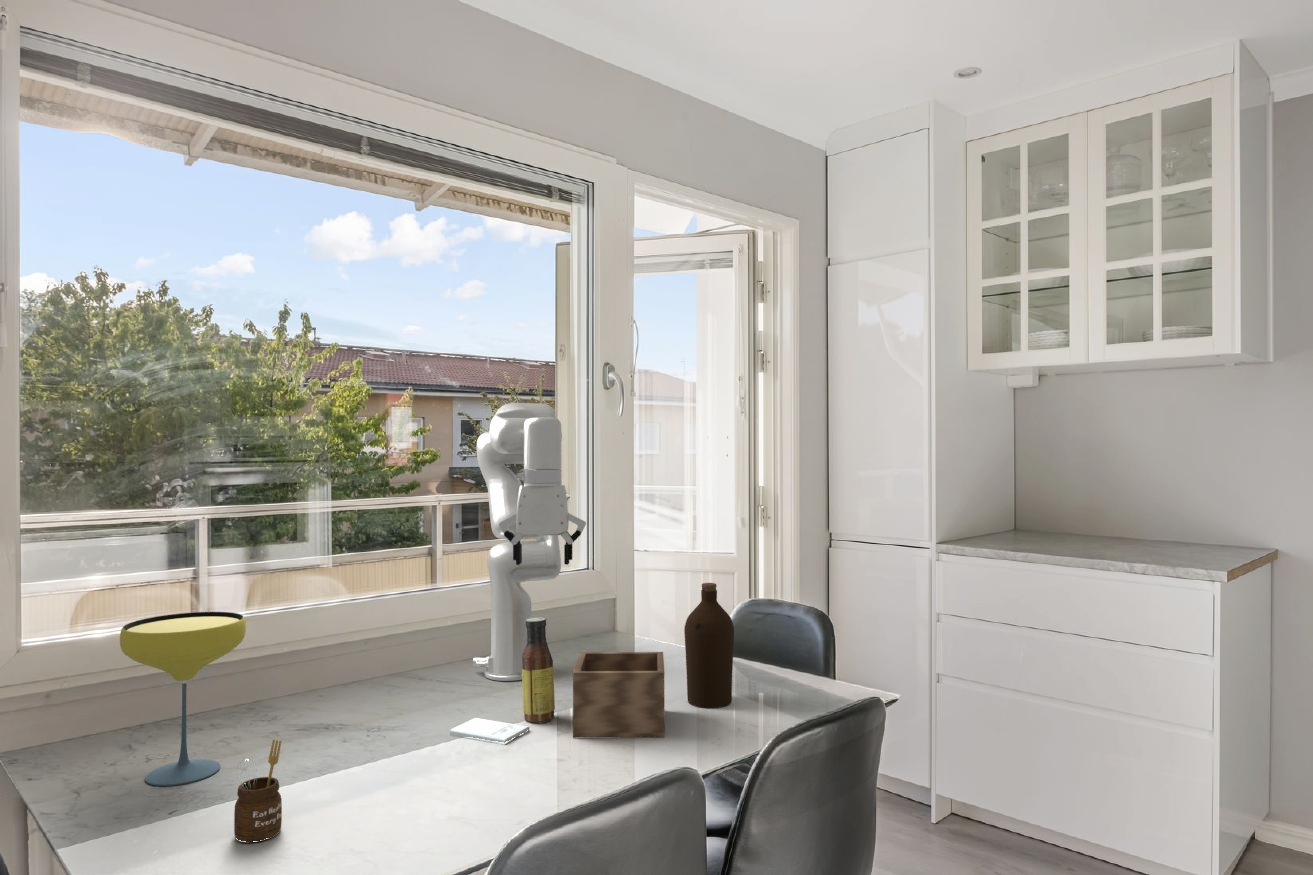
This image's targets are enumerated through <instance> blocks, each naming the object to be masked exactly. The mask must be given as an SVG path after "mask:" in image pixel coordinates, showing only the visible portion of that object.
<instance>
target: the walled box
mask: <svg viewBox="0 0 1313 875" xmlns="http://www.w3.org/2000/svg"><path fill="white" fill-rule="evenodd" d="M572 697H573V698H572V737H620V738H619V739H621V738H625V739H627V738H630V739H634V738H645V739H646V738H648V739H649V738H665V730H666V729H665V723H666V722H665V712H666V711H665V660H664V651H586V652H585V651H583V652H582V651H581V652H579V656H578V658H577V661H576V664H575V667H574V670H573V673H572Z"/></svg>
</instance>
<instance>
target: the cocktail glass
mask: <svg viewBox="0 0 1313 875" xmlns="http://www.w3.org/2000/svg"><path fill="white" fill-rule="evenodd" d="M246 629H247V624H246V618H245V616H244V615H243V614H240V613H237V612H229V611H197V612H195V611H194V612H193V611H192V612H182V613H172V614H165V615H159V616H152V617H147V618H142V619H139V620H134V621H132V622H128V623H126V624H125V625H123V626H122V628H121V630H120V635H119V645H120V649H121V652H122V653H123V654H124V655H125V656H126V657H128V658H129V659H131V660H132V661H134V662H137V663H139V664H142V665H145V666H148V667H151V668H154V669H158V670H161V671H163V672H166V673H167V674H169V675H170V676H171V677H172V678H173V679H174V680H175V681H176V682H177V683H179V684H180V685H181V690H182V691H181V693H182V694H181V733H180V735H181V736H180V737H181V739H180V751H179V756H178V761H177V762H172V763H169V764H165V765H163V766H160V767H157V768H154V769H153V770H151V771H150V772H148V773H146V776H145V777H144V780H145V783H147V784H148V785H151V786H155V787H175V786H182V785H187V784H191V783H195V782H198V781H199V782H200V781H202V780H204V779H208V778H209V776H210V777H212V776H213V775H215V774H217V773H218V772H219V770H220V769H221V764H220V762H219V761H216V760H213V759H204V758H203V759H202V758H199V759H189V756H188V755H189V754H188V744H187V743H188V742H187V687H188V686H187V684H188V683H190V682H191V681H192V680H193V679H195V678H194V677H195V676H196V675H197V674H198V673H199V672H200V670H201V669H203V668H204V667H206V666H207V665H209V664H211V663H213V662H214V661H217V660H218V659H220V658H222V657H224V656H226V655H227V654H229V653H230V652H232V651H233V650H235V648H237V647H238V646H239V645H241V643H242V642H243V641H244V638H245V635H246V631H247V630H246ZM207 777H208V778H207Z"/></svg>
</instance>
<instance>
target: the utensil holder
mask: <svg viewBox="0 0 1313 875" xmlns="http://www.w3.org/2000/svg"><path fill="white" fill-rule="evenodd" d="M281 746H282V740H279V739H276V740H275V739H272V742H271V747H270V752H269V756H268V763H269V765H270V769H269V772H268V776H261V777H256V775H253V778H251V779H250V778H249V776H246V778H247V780H246V781H245V780H244V778H243V776H242V775H243V773H242V771H240V773H239V775H240V776H239V775H237V777H238V781H239V783H240V784H239V786H238V788H237V793H236V794H237V797H238V798H237V799H236V802H235V805H234V814H233V817H234V818H233V820H234V821H233V826H234V827H233V828H234V829H233V830H234V831H233V832H234V838H235V839H236V838H237V839H238V840H241V841H246V842H253V841H260V840H264V839H266V838H270V837H272V838H274V837H275V836H274V835H276V834H277V833H278V832H279V833H280V831H281V829H282V820H283V819H282V816H283V814H282V812H283V809H282V808H283V804H282V803H283V802H282V796H281V793H280V792H279V789H280V783H279V780H278V779H277V777H273V772H274V767H275V765H276V764H278V763H279V758H280V753H281V752H280V751H281ZM247 761H248V762H249V761H252V763H251V762H249V764H250V765H251V767H252V771H253V773H255V772H256V770H258V768H257V767H254V766H257V764H256V762H255V761H254V760H253V759H252V758H245V759H242V760H241V761H240V763H239V764H238V766H237V771H239V769H242V765H243V763H244V762H245V764H244V765H245V766H246V768H249V766H248V764H247ZM239 766H240V767H239ZM255 768H256V770H255ZM245 772H246V774H247V775H250V773H249V770H245ZM240 778H241V779H242V780H243V781H242V780H241V779H240ZM279 833H278V834H279ZM278 834H277V835H278ZM277 835H276V836H277ZM273 836H274V837H273ZM270 839H271V838H270Z"/></svg>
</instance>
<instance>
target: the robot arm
mask: <svg viewBox="0 0 1313 875" xmlns="http://www.w3.org/2000/svg"><path fill="white" fill-rule="evenodd" d="M562 433H563V432H562V422H561V420H560V419H558V418H557V416H556V412H555V410H554V409H553V407H552V406H551V405H550V404H547V403H538V402H537V403H535V402H532V403H528V402H509V403H506V404H503V405H502V406H500V407H499V408H498V409H497V411H496V412H495V415H494V416H493V417H492V419H491V422H490V425H489V430H488V431H485V432H483V433H481V434H480V435H479V437H478V439H477V441H476V459H477V463H478V466H479V469H480V472H481V474H482V477H483V480H484V481H485V485H486V487H487V488H486V489H487V493H488V495H487V497H488V505H489V506H488V507H489V520H490V526H491V531H492V534H493V536H494V537H495V538H497V539H500V540H508V541H507V542H501V543H497V544H495V545H493V546H492V547H491V548H490V549H489V550H488V553H487V560H486V561H487V568H488V575H489V584H490V585H489V586H490V599H491V600H490V601H491V602H490V604H491V605H490V609H491V610H490V611H491V612H490V615H491V617H490V618H491V619H490V626H491V631H490V634H491V635H490V636H491V637H490V638H491V639H490V641H491V642H490V647H491V648H490V652H491V653H490V655H486V657H481V656H480V657H479V656H478V657H477V656H473V660H472V664H473V666H475V667H476V668H483V667H484V668H486V669H485V670H484V677H485V678H487V679H488V680H492V681H498V682H499V681H500V682H511V681H512V682H513V681H514V682H515V681H522V653H523V651H524V649H525V647H526V645H527V628H526V620H527V619H529V618H532V598H531V596H530V594H529V593H528V592H527V591H526V590H525V589H524V587H523V586H522V585H521V583H525V582H526V583H527V582H538V581H550V580H554V579H556V578H557V577H558V576H559V575H560V572H561V569H562V557H561V555H562V554H561V548H560V540H559V539H560V538H559V536H561V537H562V539H563V540H564V541H565V544H564V546H563V549H564V551H563V552H564V556H563V557H564V561H563V562H564V565H570V561H573V543H574V542H575V541H576V540H577V539H578V538H580V536H581V535H582V532H583V531H584V529H585V527H586V525H587V522H586V521H585V520H583V519H581V518H579V517H577V516H576V515H574V514H571V513H569V505H568V498H567V497H568V496H567V490H566V489H567V488H566V486H565V485H564V484H563V485H562V478H563V476H562V440H563V434H562ZM505 464H506V465H510V464H511V465H512V464H513V465H514V464H515V465H521V464H523V471H520V472H517V473H515V472H513V471H512V470H511V469H510V468H509V467H508V466H506V465H505ZM522 482H523V483H522ZM569 522H571V523H572V524H574V525H577V527H576V529H575V532H573V533H572V535H571V534H570V533H569V531H568V530H569ZM527 539H529V540H531V539H533V541H532V540H531V541H521V540H527ZM534 539H535V540H534Z"/></svg>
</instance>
